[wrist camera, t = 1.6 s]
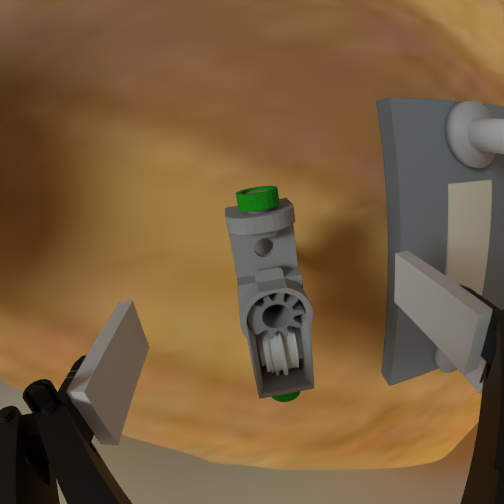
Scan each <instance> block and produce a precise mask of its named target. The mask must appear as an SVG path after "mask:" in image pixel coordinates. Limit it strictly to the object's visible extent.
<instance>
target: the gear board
mask: <svg viewBox="0 0 504 504" xmlns="http://www.w3.org/2000/svg"><path fill="white" fill-rule="evenodd" d="M376 102H377V109H378V116H379V123H380V130H381V139H382V148H383V157H384V168H385V181H386V196H387V216H388V296H387V316H386V331H385V344H384V354H383V364H382V374H383V376H384V378H385V379H386V381H387V383H388V384H389V386H390V385H393V384H397V383H399V382H402V381H405V380H408V379H411V378H414V377H417V376H419V375H422V374H425V373H427V372H430V371H433V370H435V369H438V368H440V369H441V371H443V372H446V373H449V372H453V371H455V370H457V368H456V366H455V365H454V364H453V363H452V362H451V361H450V360H449V359H448V358H447V356H446V355H445V354H444V353H443V352H442V351H441V350H440V349H439V348H438V347H437V346H436V345H435V343H434V342H433V341H432V340H431V339H430V338H429V337H428V336H427V335H426V334H425V333H424V332H423V331H422V330H421V329H420V328H419V327H418V325H417V324H416V323H415V322H414V321H413V320H412V319H411V318H410V317H409V316H408V315H407V314H406V313H405V312H404V311H403V310H402V309H401V308H400V307H399V306H398V305H397V304H396V303H395V302H394V293H395V253H399V252H404V251H409V252H410V253H412V254H414V255H415V256H417V257H418V258H420V259H421V260H423V261H424V262H426V263H427V264H429V265H430V266H432V267H433V268H435V269H436V270H438V271H439V272H441V273H442V274H444V275H445V276H447V277H448V278H450V279H451V280H452V281H454V282H455V283H457V284H458V285H460V284H461V285H463V286H466V287H469V288H471V289H472V290H474V291H475V292H477V294H479V295H481V296H482V297H483V298H485V299H487V300H488V301H489V302H491V303H492V304H493V305H495V306H496V307H498V308H499V309H500V310H503V309H504V107H503V106H497V105H489V104H481V103H479V102H477V101H452V100H438V99H417V98H387V99H382V100H378V101H376ZM485 364H486V361H485V360H484V359H483V358H482V357H481V358H480V361H479V365H478V368H477V369H476V370H474V371H472V372H470V373H468V374H465V375H464V376H465V377H466V378H467V380H468V381H469V382H470V383H471V384H472V386H473V387H474V388H475V389H476V390H477V391H478V392H482V388H483V381H482V383H479V382H480V379H481V376H482V373H483V370H484V367H485Z"/></svg>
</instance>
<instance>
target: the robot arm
mask: <svg viewBox="0 0 504 504" xmlns="http://www.w3.org/2000/svg"><path fill="white" fill-rule="evenodd" d="M394 302H395V303H396V304H397V305H398V306H399V307H400V308H401V309H402V310H403V311H404V312H405V313H406V314H407V315H408V316H409V317H410V318H411V319H412V320H413V321H414V322H415V323H416V324H417V325H418V327H419V328H420V329H421V330H422V331H423V332H424V333H425V334H426V335H427V336H428V337H429V338H430V339H431V340H432V341H433V342H434V343H435V345H436V346H437V347H438V348H439V349H440V350H441V351H442V352H443V353H444V354H445V355H446V356H447V358H448V359H449V360H450V361H451V362H452V363H453V364H454V365H455V366H456V368H457V369H458V370H459V371H460V372H461V373H462V374H463V375H465V374H468V373H470V372H472V371H474V370H476V369H477V368H478V365H479V361H480V358H481V357H482V358H483V359H484V360H485V361H486V364H485V367H484V370H483V373H482V376H481V379H480V382H479V383H482V381H483V388H482V399H481V408H480V416H479V423H478V430H477V436H476V442H475V447H474V452H473V457H472V462H471V466H470V471H469V475H468V479H467V483H466V486H465V490H464V494H463V497H462V501H461V504H504V309H503V310H500V309H499V308H498V307H496V306H495V305H493V304H492V303H491V302H489V301H488V300H487V299H485V298H483V297H482V296H481V295H479V294H477V292H475V291H474V290H472V289H471V288H469V287H466V286H463V285H461V284H460V285H458V284H457V283H455V282H454V281H452V280H451V279H450V278H448V277H447V276H445V275H444V274H442V273H441V272H439V271H438V270H436V269H435V268H433V267H432V266H430V265H429V264H427V263H426V262H424V261H423V260H421V259H420V258H418V257H417V256H415V255H414V254H412V253H410V252H409V251H404V252H399V253H395V293H394ZM148 349H149V345H148V342H147V339H146V337H145V334H144V331H143V328H142V326H141V323H140V320H139V317H138V314H137V312H136V309H135V306H134V303H133V301H127V302H120V303H119V304H118V305H117V307H116V308H115V310H114V311H113V313H112V315H111V316H110V318H109V319H108V321H107V323H106V324H105V326H104V327H103V329H102V331H101V332H100V334H99V336H98V337H97V339H96V341H95V342H94V344H93V346H92V347H91V349H90V351H89V352H88V354H87V355H85V356H82V357H81V358H80V359H78V360H77V361H76V362H75V363H74V365H73V367H72V368H71V370H70V372H69V373H68V375H67V378H65V380H64V382H63V384H62V385H61V387H60V389H59V391H58V392H57V391H56V389H55V387H54V385H53V384H52V382H51V381H50V380H47V379H41V380H38V381H35V382H33V383H32V384H30V385H29V386H28V387H27V388H26V389H25V391H24V392H23V399H24V401H25V402H26V403H27V405H28V406H29V408H30V409H31V411H32V412H33V413H31V414H25V415H22V414H21V412H20V411H19V410H18V408H17V407H15V406H8V407H5V408H3V409H1V410H0V504H60V502H59V496H58V489H57V482H56V479H57V481H58V484H59V486H60V488H61V491H62V493H63V495H64V497H65V499H66V502H67V504H132V503H131V501H130V500H129V499H128V497H127V496H126V494H125V493H124V492H123V490H122V489H121V487H120V486H119V485H118V483H117V482H116V480H115V478H114V477H113V475H112V474H111V473H110V471H109V469H108V468H107V466H106V464H105V463H104V461H103V460H102V458H101V456H100V455H99V453H98V451H97V450H96V448H95V446H94V445H93V444H92V442H91V441H92V438H93V435H95V437H96V438H97V439H98V441H99V442H100V443H101V444H110V445H111V444H112V445H118V444H119V440H120V437H121V433H122V430H123V427H124V423H125V420H126V417H127V413H128V410H129V407H130V404H131V401H132V397H133V394H134V391H135V388H136V385H137V382H138V379H139V376H140V373H141V370H142V367H143V364H144V361H145V358H146V355H147V352H148Z"/></svg>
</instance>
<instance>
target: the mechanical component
mask: <svg viewBox="0 0 504 504" xmlns="http://www.w3.org/2000/svg"><path fill="white" fill-rule="evenodd" d="M236 197H237V203H238V206H234V207H228V208H225V217H226V223H227V228H228V231H229V236H230V242H231V247H232V252H233V258H234V263H235V269H236V274H237V281H238V298H239V312H240V324H241V329H242V331H243V334H244V335H245V336H246V338H247V341H248V346H249V351H250V355H251V360H252V365H253V370H254V375H255V380H256V384H257V389H258V394H259V398H265V397H272V398H273V399H275V400H276V401H280V402H288V401H291V400H293V399H295V398H297V397H298V395H299V394H300V391H303V390H308V389H312V388H314V376H313V359H312V343H311V328H310V327H311V324H312V320H313V310H312V307H311V304H310V302H309V300H308V298H307V296H306V294H305V292H304V290H303V282H302V274H301V272H300V270H299V268H298V263H297V254H296V245H295V236H294V227H293V223H294V222H295V215H294V207H293V204H292V203H291V202H290V201H289V200H288V199H287V198H283V199H279V196H278V189H277V187H276V186H262V187H254V188H249V189H245V190H241V191H239V192H237V193H236Z"/></svg>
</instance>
